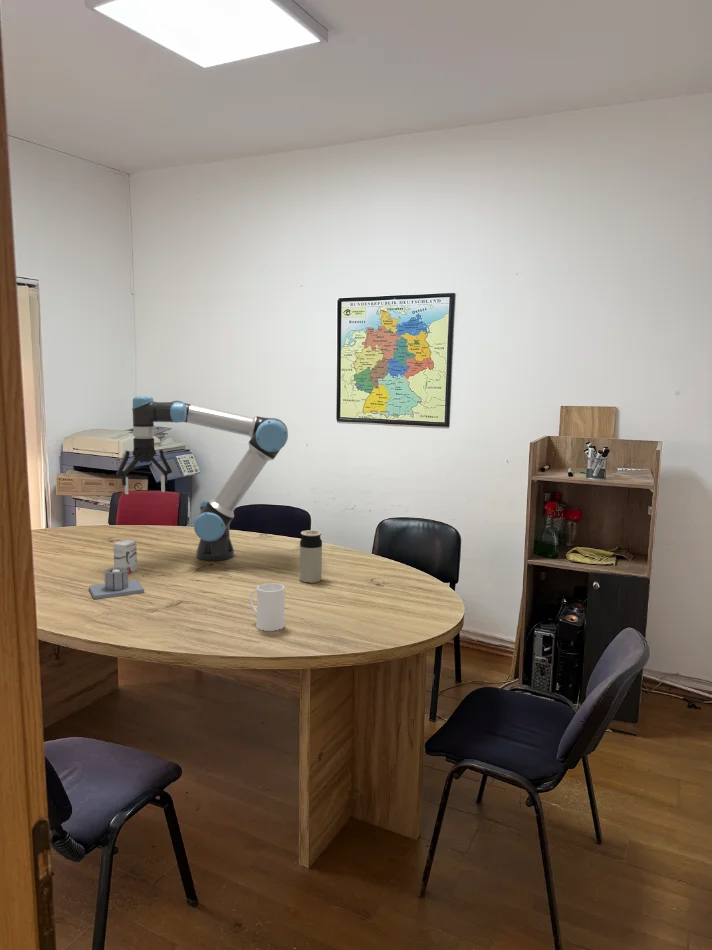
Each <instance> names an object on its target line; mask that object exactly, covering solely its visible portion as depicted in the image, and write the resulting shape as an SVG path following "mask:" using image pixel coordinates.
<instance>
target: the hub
mask: <svg viewBox="0 0 712 950" xmlns="http://www.w3.org/2000/svg"><path fill="white" fill-rule="evenodd" d="M112 570H120V572H112ZM103 572H104V573H103V574H104V584H105V589H106V590H109V591H119V590H124V589H126V588H128V581H129V574H128V570H127V568H121V567H119V568H118V567H117V568H114V567H111V568H108V569H105V570H104V571H103Z"/></svg>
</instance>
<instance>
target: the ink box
mask: <svg viewBox="0 0 712 950" xmlns="http://www.w3.org/2000/svg"><path fill="white" fill-rule="evenodd" d="M137 555H138V552H137V540H136V539H129V538H124V539H122V540H119V541H117V542H114V543H113V568H117V567H118V568H119V567H121V568H127V570H128V575H130V574H131V573H134V572H136V571H137V570H138V556H137Z"/></svg>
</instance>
